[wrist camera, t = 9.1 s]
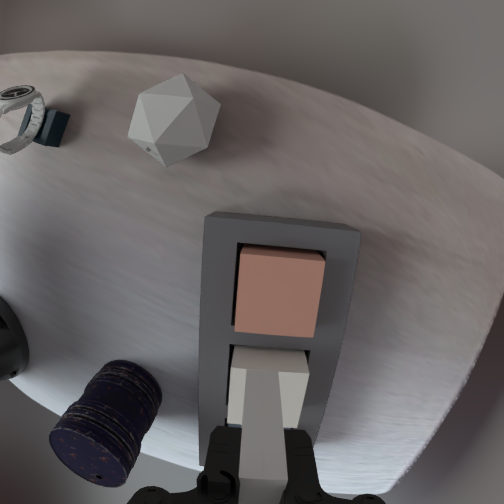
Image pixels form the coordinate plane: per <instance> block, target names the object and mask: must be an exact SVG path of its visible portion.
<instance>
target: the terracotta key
mask: <svg viewBox="0 0 504 504" xmlns="http://www.w3.org/2000/svg"><path fill="white" fill-rule="evenodd" d="M324 268H325V260H324V259H323V258H322V257H321V255H320V254H319V253H318V252H317V250H313V249H303V248H293V247H282V246H271V245H261V244H250V243H244V245H243V248H242V251H241V254H240V266H239V278H238V291H237V304H236V316H235V330H234V331H236V332H246V333H257V334H268V335H281V336H295V337H311V338H313V336H314V330H315V324H316V319H317V313H318V307H319V301H320V294H321V288H322V281H323V275H324Z"/></svg>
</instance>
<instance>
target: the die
mask: <svg viewBox="0 0 504 504" xmlns="http://www.w3.org/2000/svg"><path fill="white" fill-rule="evenodd" d="M220 106H221V104H220V103H219V102H217V101H216V100H215V99H214V98H213V97H212V96H210V95H209V94H208V93H207V92H206V91H204V90H203V89H202V88H201V87H200V86H198V85H197V84H196V83H195V82H193V81H192V80H191V79H190V78H189V77H187V76H186V75H185V74H184V73H181V74H179V75H176V76H174V77H172V78H170V79H168V80H166V81H163V82H161V83H159V84H157V85H155V86H153V87H151V88H149V89H147V90H145V91H143V92H141V93H139V96H138V100H137V103H136V107H135V110H134V114H133V118H132V121H131V125H130V129H129V133H128V138H129V139H131V140H132V141H133V142H134V143H136V144H137V145H138V146H140V147H141V148H142V149H144V150H145V151H146V152H147V153H149V154H150V155H151V156H153V157H154V158H155V159H156V160H158V161H159V162H160V163H162V164H163V165H164V166H165V167H168V166H170V165H172V164H174V163H176V162H178V161H180V160H182V159H184V158H186V157H189V156H191V155H193V154H195V153H197V152H199V151H202V150H204V149H206V148H208V145H209V141H210V138H211V135H212V131H213V128H214V125H215V122H216V119H217V116H218V112H219V109H220Z"/></svg>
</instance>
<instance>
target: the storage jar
mask: <svg viewBox="0 0 504 504" xmlns="http://www.w3.org/2000/svg"><path fill="white" fill-rule="evenodd" d="M161 401H162V393H161V389H160V386H159V384H158V383H157V381H156V380H155V378H154V377H153V376H152V375H151V374H150V373H149V372H148V371H147V370H145V369H144V368H142V367H141V366H139V365H137V364H135V363H133V362H130V361H126V360H114V361H110V362H108V363H107V364H105V365H104V366H103V368H102V369H101V370H100V371H99V372H98V373H97V374H96V375H95V376H94V377H93V378H92V380H91V381H90V382H89V383H88V385H87V386H86V388H85V390H84V394H83V395H82V396H81V397H80V399H79V400H78V401H76V402H74V403H73V404H72V405H70V406H69V408H68V409H67V411H66V412H65V413H64V414H63V415H62V417H61V418H60V419H59V422H58V423H57V425H56V426H55V427H54V428H53V430H52V431H51V432H50V434H49V443H50V446H51V448H52V450H53V452H54V453H55V455H56V456H57V457H58V458H59V460H60V461H61V462H62V463H63V464H64V465H65V466H66V467H67V468H69V469H70V470H71V471H72V472H74V473H75V474H77V475H78V476H80V477H81V478H83V479H85V480H87V481H89V482H91V483H94V484H97V485H100V486H104V487H110V488H115V487H120V486H122V485H124V484H125V482H126V480H127V478H128V475H129V473H130V471H131V469H132V468H133V467H134V464H135V462H136V460H137V457H138V455H139V453H140V449H141V441H142V439H143V437H144V435H145V434H146V433H147V432H148V431H149V429H150V427H151V425H152V423H153V421H154V419H155V417H156V415H157V410H158V408H159V406H160V404H161Z"/></svg>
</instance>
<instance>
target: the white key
mask: <svg viewBox="0 0 504 504" xmlns="http://www.w3.org/2000/svg"><path fill="white" fill-rule="evenodd" d="M247 369H249V370H262V371H278V373H279V384H280V395H281V406H282V417H283V428H297V426H298V422H299V418H300V413H301V409H302V405H303V401H304V396H305V392H306V387H307V383H308V378H309V369H308V365H307V360H306V356H305V352H304V350H298V349H282V348H269V347H257V346H247V345H237V344H235V347H234V353H233V359H232V364H231V373H230V387H229V402H228V417H227V423H231V424H240V425H242V414H243V403H244V392H245V381H246V370H247Z"/></svg>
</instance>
